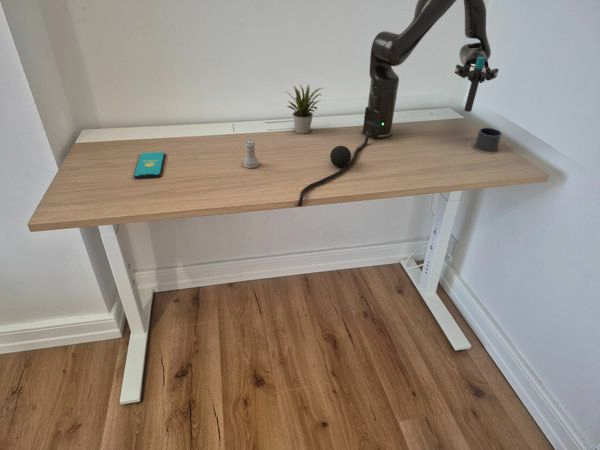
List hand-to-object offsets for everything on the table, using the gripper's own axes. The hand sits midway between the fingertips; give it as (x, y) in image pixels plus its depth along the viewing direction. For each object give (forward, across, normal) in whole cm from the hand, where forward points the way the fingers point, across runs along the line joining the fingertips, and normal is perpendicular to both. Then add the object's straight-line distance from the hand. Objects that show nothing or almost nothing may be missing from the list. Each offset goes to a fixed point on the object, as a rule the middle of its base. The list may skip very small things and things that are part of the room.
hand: (477, 79), depth 128 cm
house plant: (+4, -52, +23) cm, 58 cm away
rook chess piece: (+35, -61, +23) cm, 74 cm away
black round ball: (+25, -35, +23) cm, 49 cm away
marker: (-3, 0, +11) cm, 11 cm away
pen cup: (-3, +9, +23) cm, 25 cm away
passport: (+46, -89, +23) cm, 103 cm away
